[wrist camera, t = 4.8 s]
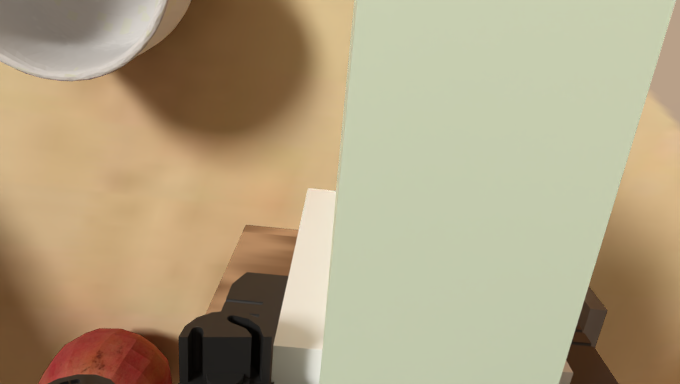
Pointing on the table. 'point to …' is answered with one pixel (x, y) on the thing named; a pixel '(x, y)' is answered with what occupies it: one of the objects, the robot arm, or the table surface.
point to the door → (478, 182)
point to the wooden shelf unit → (276, 257)
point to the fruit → (111, 359)
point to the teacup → (82, 34)
